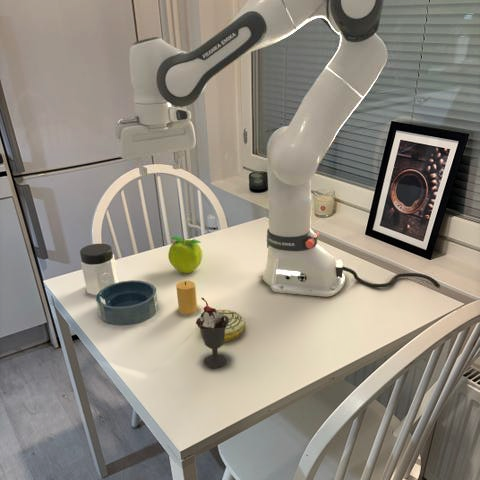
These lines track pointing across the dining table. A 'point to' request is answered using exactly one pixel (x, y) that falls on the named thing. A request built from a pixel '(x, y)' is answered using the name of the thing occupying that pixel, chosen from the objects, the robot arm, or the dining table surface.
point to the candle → (186, 297)
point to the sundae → (213, 334)
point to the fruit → (185, 254)
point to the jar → (98, 267)
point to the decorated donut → (232, 324)
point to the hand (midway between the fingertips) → (160, 171)
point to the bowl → (127, 302)
